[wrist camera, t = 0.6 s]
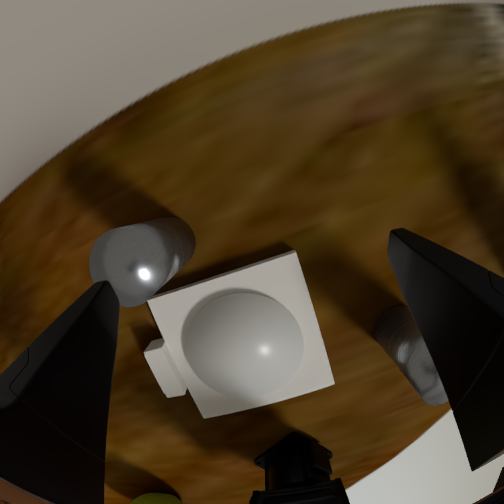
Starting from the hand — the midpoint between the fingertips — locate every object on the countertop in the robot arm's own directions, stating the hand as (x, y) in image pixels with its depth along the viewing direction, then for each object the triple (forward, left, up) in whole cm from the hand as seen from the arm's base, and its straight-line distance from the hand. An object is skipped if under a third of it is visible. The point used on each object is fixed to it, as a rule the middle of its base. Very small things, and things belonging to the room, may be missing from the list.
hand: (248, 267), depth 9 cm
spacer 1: (-6, +4, -17) cm, 18 cm away
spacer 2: (+2, -16, -17) cm, 23 cm away
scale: (-9, -6, -17) cm, 20 cm away
